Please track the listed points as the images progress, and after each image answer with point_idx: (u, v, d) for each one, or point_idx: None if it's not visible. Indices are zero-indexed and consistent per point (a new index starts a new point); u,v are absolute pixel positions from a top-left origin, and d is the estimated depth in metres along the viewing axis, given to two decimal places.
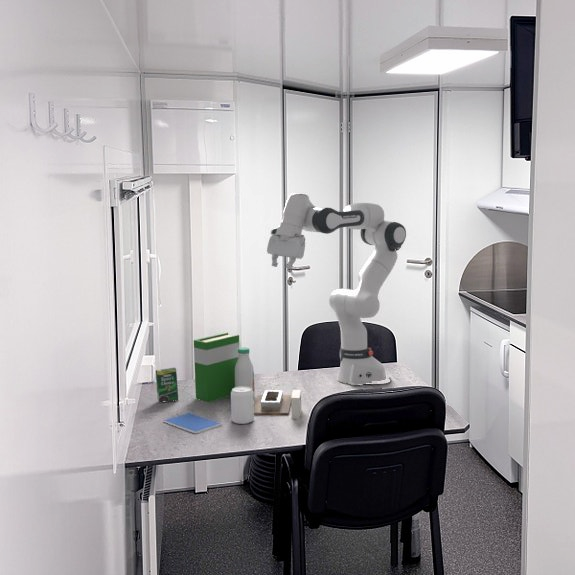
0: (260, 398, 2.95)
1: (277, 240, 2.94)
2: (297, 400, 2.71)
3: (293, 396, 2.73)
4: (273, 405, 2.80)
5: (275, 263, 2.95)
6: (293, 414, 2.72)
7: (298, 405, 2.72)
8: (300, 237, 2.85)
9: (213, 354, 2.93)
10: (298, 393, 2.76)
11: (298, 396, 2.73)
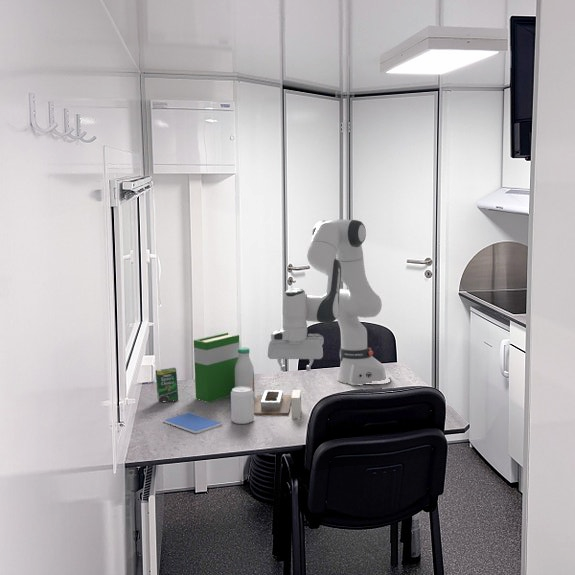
0: (260, 398, 2.95)
1: (282, 344, 2.72)
2: (297, 400, 2.71)
3: (293, 396, 2.73)
4: (273, 405, 2.80)
5: (284, 367, 2.75)
6: (293, 414, 2.72)
7: (298, 405, 2.72)
8: (317, 337, 2.72)
9: (213, 354, 2.93)
10: (298, 393, 2.76)
11: (298, 396, 2.73)
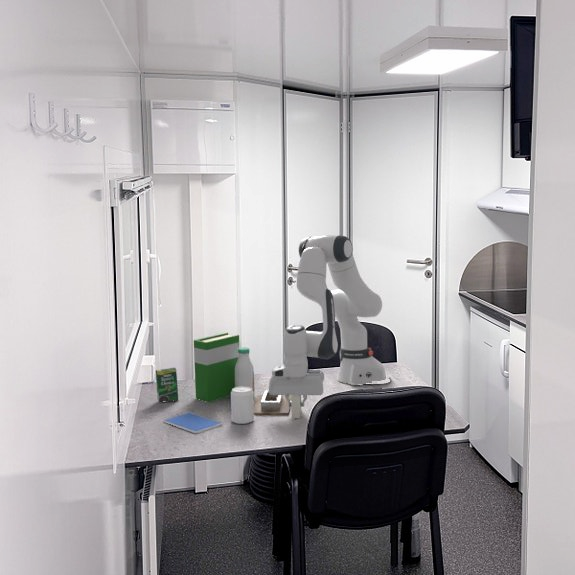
0: (260, 398, 2.95)
1: (283, 380, 2.74)
2: (297, 400, 2.71)
3: (293, 396, 2.73)
4: (273, 405, 2.80)
5: None
6: (293, 414, 2.72)
7: (298, 405, 2.72)
8: (317, 373, 2.74)
9: (213, 354, 2.93)
10: None
11: (298, 396, 2.73)
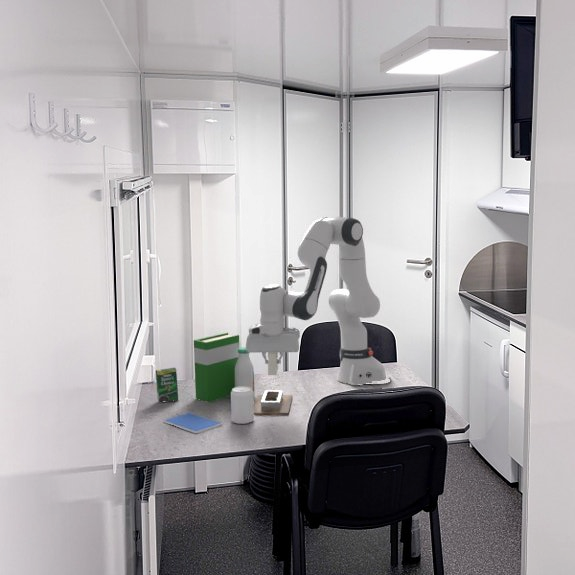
0: (260, 398, 2.95)
1: (260, 338, 2.82)
2: (273, 356, 2.79)
3: (270, 353, 2.81)
4: (273, 405, 2.80)
5: None
6: (270, 370, 2.80)
7: (274, 361, 2.79)
8: (293, 331, 2.82)
9: (213, 354, 2.93)
10: None
11: (274, 353, 2.81)
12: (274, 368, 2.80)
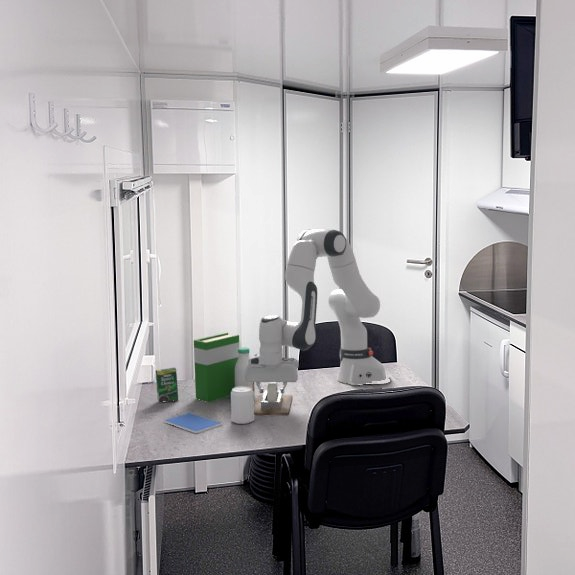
0: (260, 398, 2.95)
1: (259, 368, 2.84)
2: (273, 389, 2.82)
3: (269, 386, 2.83)
4: (273, 405, 2.80)
5: (263, 389, 2.87)
6: None
7: (274, 394, 2.82)
8: (292, 361, 2.84)
9: (213, 354, 2.93)
10: (274, 383, 2.87)
11: (274, 386, 2.83)
12: None
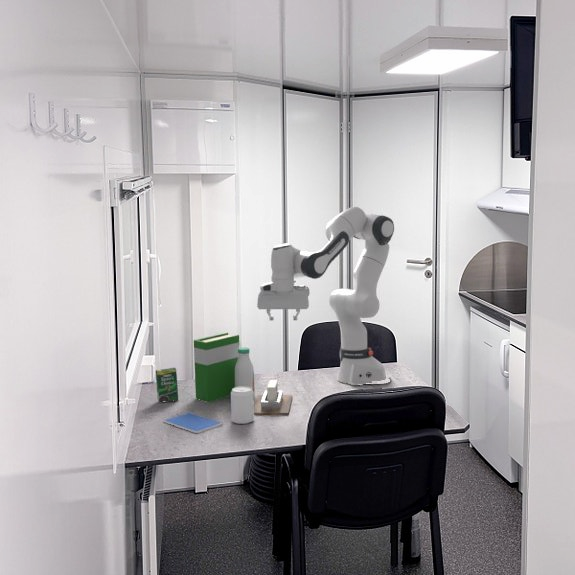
0: (260, 398, 2.95)
1: (271, 295, 2.92)
2: (273, 389, 2.82)
3: (269, 386, 2.83)
4: (273, 405, 2.80)
5: None
6: None
7: (274, 394, 2.82)
8: (303, 288, 2.92)
9: (213, 354, 2.93)
10: (274, 383, 2.87)
11: (274, 386, 2.83)
12: None
